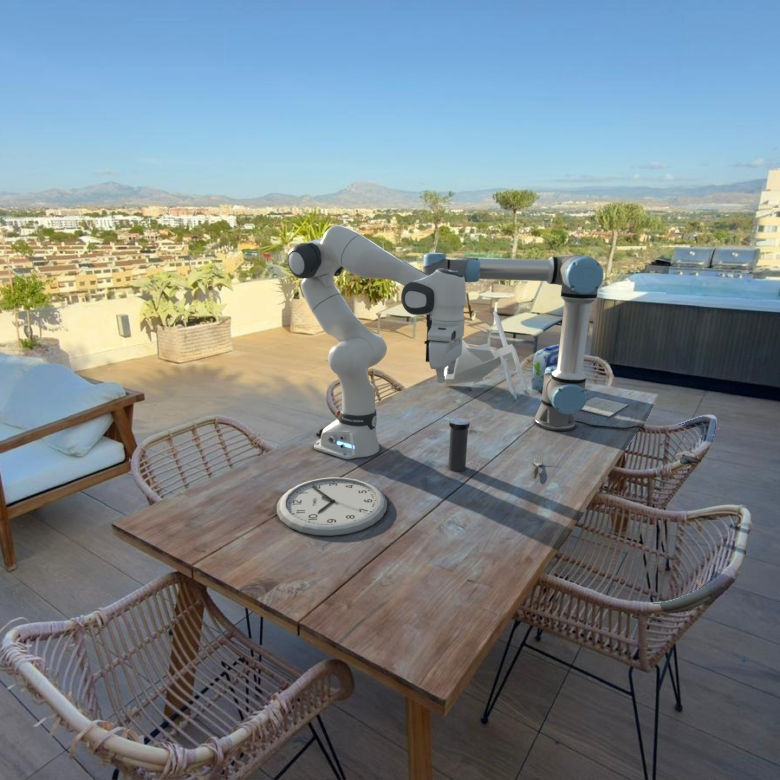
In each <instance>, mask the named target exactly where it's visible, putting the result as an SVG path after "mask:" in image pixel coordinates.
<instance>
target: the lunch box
mask: <svg viewBox="0 0 780 780" xmlns="http://www.w3.org/2000/svg"><path fill="white" fill-rule="evenodd" d="M559 346H560V344H554V345H550V346H547V347H544V348H542V349H541V348H540V349H539V350H537V351H536V352H535V353H534V356H533V360H532V367H531V368H532V369H531V382H530V383H531V386H530V387H531V389H532V390H533V391H537V392H541V393H542V392H543V382H544V373H545V369H546V368H547V367H553V366H557V364H558V355H559Z"/></svg>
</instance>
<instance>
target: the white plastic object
mask: <svg viewBox="0 0 780 780" xmlns="http://www.w3.org/2000/svg"><path fill="white" fill-rule="evenodd" d="M492 315H493V319H494V321H495V324H496V325H495V326H496V328H497V332H498V335H499V338H500V342H501V345H502V347H500V348H498V349H496V350H495V349H493V348H492V347H491V346H490V344H489V343H488V342H487V343H483V344H479V345H473V346H469V345H468V343H466V342H465V340H464V339H463V338H462V352H461V355H460V356H459V357H458V358H456V364H455V367H454V373H453V374H447V368H448V366H447V367H445V371H444V376H445V381H444V382H443V384H444V385H445V386H449V385H458V384H467V383H468V384H469V383H473V384H477V383H480V382H482V381H484V378H485V377H486V376H487V375H489V374H490V373H492V372H494V371H495V370H496V369H497V368H499V367H500V366H502V370H503V373H504V376H505V380H506V383H507V386H508V390H509V393H510V394H511V395H512V397H513V398H514V399H515V400H517V392H516V391H517V390H516V388H515V385H514V381H513V378H512V375H511V371H510V369H509V365H508V361H510V360H513V363H514V366H515V369H516V372H517V376H518V380H519V382H520V385H521V389H522V391H523V393H524V395H525V396H526V397H528V396H531V395H530V390H529V388H528V387H529V386H528V384H527V381H526V378H525V375H524V371H523V369H522V368H523V367H522V366H521V362H520V359H519V355H518V352H517V349H516V347H515V346H514V345H513V343H511V344H508V341H507V337H506V334H505V331H504V328H503V325H502V321H501V318H500V315H499V314H498V312H497V311H496V310H495V311H492Z"/></svg>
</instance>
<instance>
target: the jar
mask: <svg viewBox="0 0 780 780" xmlns="http://www.w3.org/2000/svg"><path fill="white" fill-rule="evenodd" d="M449 428H450V429H449V447H448V464H447V465H448V469H449V470H450V471H452V472H463V471H465V470H466V467H467V466H466V464H467V451H468V450H467V449H468V436H469V435H468V434H469V428H468V429H464V430H458V429H453V428H451V427H449Z"/></svg>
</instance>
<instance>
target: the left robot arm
mask: <svg viewBox="0 0 780 780" xmlns="http://www.w3.org/2000/svg"><path fill="white" fill-rule="evenodd" d="M286 261H287V266H288V269H289V270H290V272H291V273H292V275H293V276H295V277H296V278H298V279H302V280H301V282H300V289H301V292H302V294H303V297H304V300H305V302H306V303H307V306H308V308H309V309H310V311H311V313H312V314H313V315H314V317H315V319H316V321H317V322H318V324H319V325H320V327H321V328H322V330H323V332H325V334H327V335H328V336H331V337H332V338H334V339H335V340H337V341H338V343H337V344H336V345H333V347H332V348H331V349H330V350H329V352H328V354H327V363H328V366H329V367H330V370H331V371H332V372H333V373H334V374H336V376H337V378H338V381H339V384H340V389H341V407H340V408H339V409H338V410H337V411H336V412H335V413H334V414H335V415H334V416H335V417H337V418H336V419H335V420H333V421H332V422H330V423H329V424H328V425H326V426H325V427H322V428H320V429H319V431H318V432H316V434H315V436H317V437H318V439H317V440H316V441H315V443H314V444H313V449H314V450H316V451H318V452H320V453H324V454H328V455H331V456H334V457H338V458H341V459H344V460H352V459H356V458H366V457H371V456H374V455H376V454H377V453H379V452H380V449H381V448H380V445H379V441H378V436H377V427H376V426H377V408H376V387H375V385H374V384H372V383H371V380H370V377H369V373H368V372H369V368H371V367H374V366H376V365H378V364H379V363H380V362H381V361H382V360H383V359H384V358H385V356H386V354H387V351H388V347H387V343H386V341H385V340H384V338H383V337H382V336H380V335H379V334H377V333H375V332H373V331H372V330H371V329H369V327H367V326H366V324H364V323H363V322H362V321H361V320H360V319H359V318H358V317H357V316H356V315H355V313H354V311H353V310H352V309H351V307H350V306H349V305H348V303H347V301H346V300H345V298H344V297H343V295H342V293H341V292H340V290H339V289H338V288H337V285H336V284H335V281H334V277H339V276H340V275H341V274H342V272H343V270H345V271H347V272H349V273H350V274H352V275H354V276H357V277H359V278H363V279H377V280H378V279H379V280H380V279H381V280H389V281H393V282H395V283H398V284H400V285H401V286H403V287H402V291H401V294H400V300H401V304H402V307H403V309H404V310H405V312H407V313H408V314H410V315H414V316H422V315H427V314H431V315H432V325H431V329H430V330H429V332H428V340H431V341H430V343H429V362H428V363H429V367H430V369H431V370H435V373H436V382H437V383H439V384H444V381H445V376H444V371H445V368H446V367H448V368H447V374H453V373H454V367H455V364H456V358H458V357H459V356H460V355H461V352H462V339H463V337H464V336H465V318H466V317H465V313H464V309H465V306H466V302H467V301H466V299H467V294H466V293H467V290H466V289H467V286H466V282H465V278H464V275H463V274H462V273H460V272H459V271H457V270H453V269H447V268H440V269H437V270H436V271H435V272H434V273H433V274H431V275H428V274H426V273H424V272H423V270H421V269H418V268H417V267H415V266H413V264H410V263H408V262H406V261H405V260H402V259H401V258H398V257H396V256H395V255H393V254H392V253H390V252H389V251H387V250H385V249H384V248H382V247H381V246H379V245H378V244H376V243H375V242H373V241H371V240H370V239H369V238H367V237H366V236H364V235H362V234H361V233H359V232H358V231H355V230H353V229H351V228H349V227H347V226H343V225H340V224H335V225H332V226H331V227H329V228H328V229H327V230H326V231H325V232H324V234H323V237H320V238H314V239H313V240H309V241H307V242H301V243H298V244H296V245H294V246H293V247H291V248H290V250H289V251H288V252H287V259H286ZM319 437H320V438H319Z"/></svg>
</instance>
